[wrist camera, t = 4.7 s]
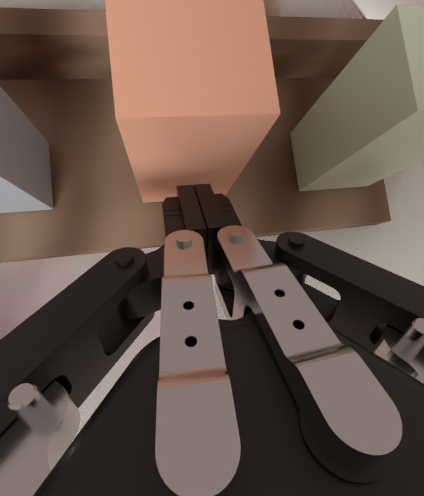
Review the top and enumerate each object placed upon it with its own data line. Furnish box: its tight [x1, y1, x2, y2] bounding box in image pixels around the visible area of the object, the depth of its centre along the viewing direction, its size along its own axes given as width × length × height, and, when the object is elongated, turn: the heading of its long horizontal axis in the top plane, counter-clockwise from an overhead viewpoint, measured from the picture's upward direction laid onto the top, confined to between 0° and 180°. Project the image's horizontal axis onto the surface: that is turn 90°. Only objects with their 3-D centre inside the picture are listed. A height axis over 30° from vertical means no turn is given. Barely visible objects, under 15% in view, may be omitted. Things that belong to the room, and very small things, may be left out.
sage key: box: [290, 5, 424, 191], centre depth 15 cm, size 5×4×9 cm
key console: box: [0, 8, 391, 263], centre depth 17 cm, size 28×12×5 cm, turn 97°
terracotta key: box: [105, 0, 280, 203], centre depth 13 cm, size 5×4×9 cm
